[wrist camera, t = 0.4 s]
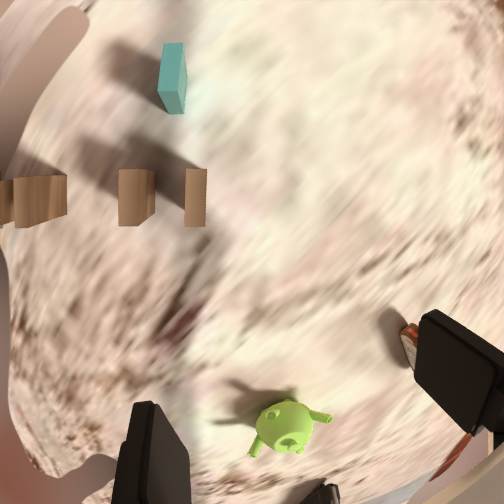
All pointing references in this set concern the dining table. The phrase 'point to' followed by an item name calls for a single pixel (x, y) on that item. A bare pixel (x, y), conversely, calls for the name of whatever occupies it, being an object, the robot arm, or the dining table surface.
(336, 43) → the dining table surface
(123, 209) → the domino
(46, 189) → the domino
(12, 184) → the domino
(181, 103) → the domino
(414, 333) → the tin
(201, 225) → the domino
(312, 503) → the magazine
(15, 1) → the dining table surface
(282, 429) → the teapot
